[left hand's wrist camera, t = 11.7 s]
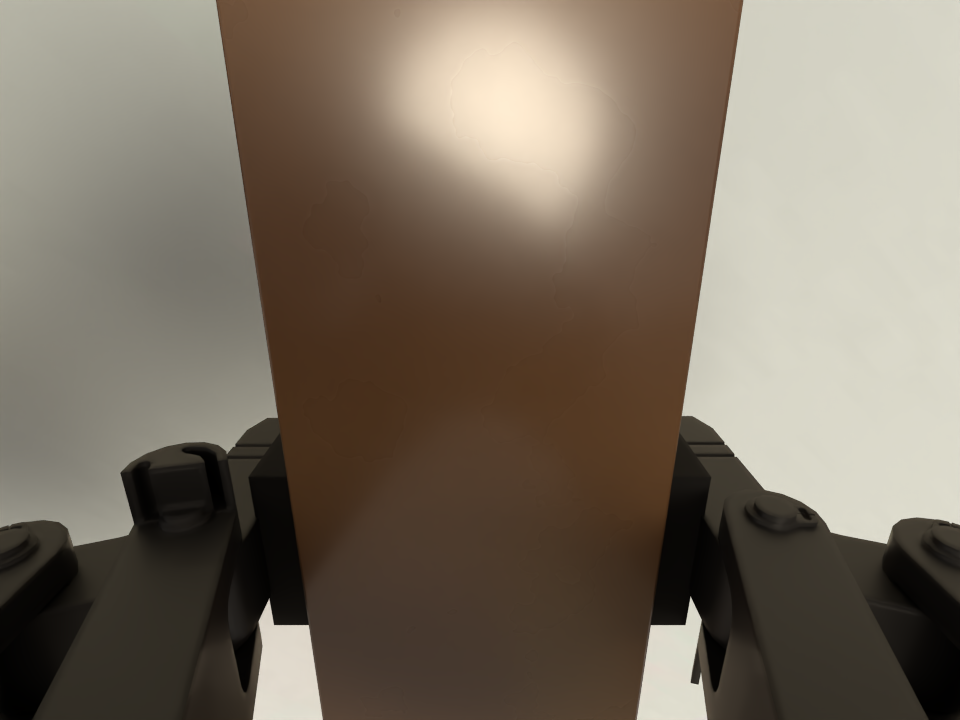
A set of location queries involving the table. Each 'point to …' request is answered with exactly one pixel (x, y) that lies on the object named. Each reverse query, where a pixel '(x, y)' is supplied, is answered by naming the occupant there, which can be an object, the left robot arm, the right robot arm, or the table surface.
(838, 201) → the table surface
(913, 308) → the table surface
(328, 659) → the bar
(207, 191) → the table surface
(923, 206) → the table surface
